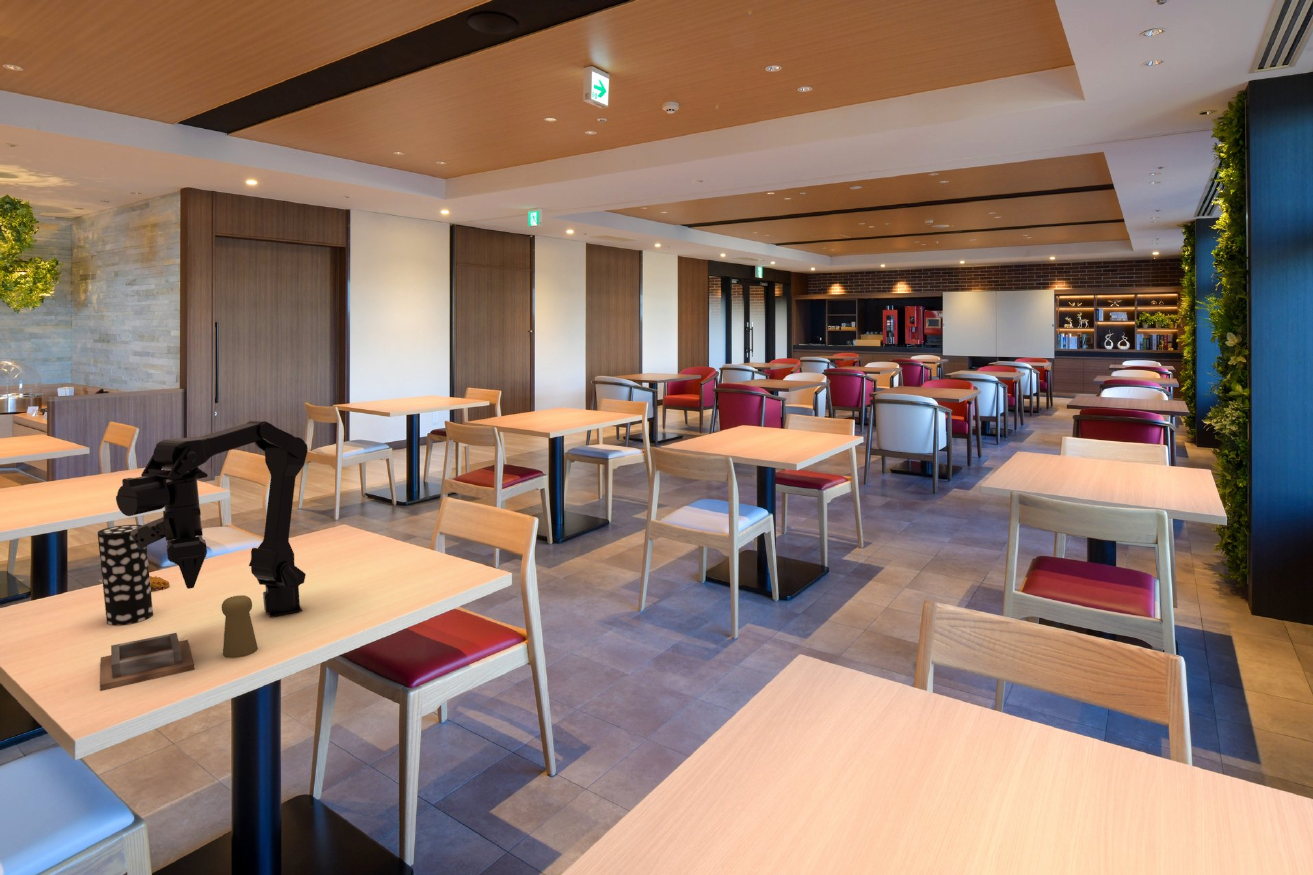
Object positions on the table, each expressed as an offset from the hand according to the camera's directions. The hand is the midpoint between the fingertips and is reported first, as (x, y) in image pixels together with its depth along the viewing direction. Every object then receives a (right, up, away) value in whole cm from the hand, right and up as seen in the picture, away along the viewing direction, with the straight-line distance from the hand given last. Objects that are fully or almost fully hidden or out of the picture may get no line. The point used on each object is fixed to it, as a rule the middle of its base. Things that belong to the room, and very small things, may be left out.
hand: (189, 581), depth 145 cm
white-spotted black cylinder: (-24, -12, +17) cm, 31 cm away
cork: (+10, -14, 0) cm, 17 cm away
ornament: (-33, -10, +34) cm, 48 cm away
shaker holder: (-4, -15, -7) cm, 16 cm away
